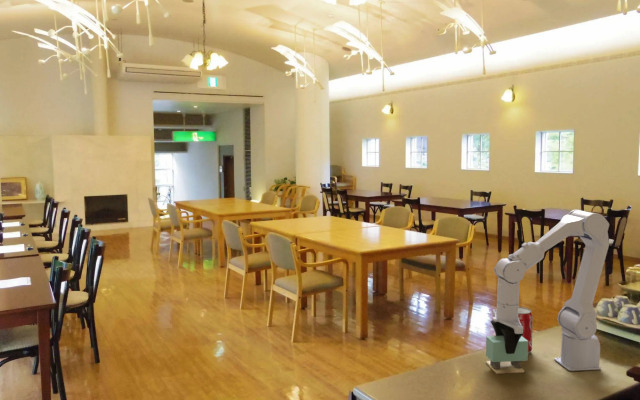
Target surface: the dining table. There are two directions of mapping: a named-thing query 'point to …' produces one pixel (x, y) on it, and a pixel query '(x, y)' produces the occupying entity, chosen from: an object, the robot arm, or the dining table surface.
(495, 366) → the stand
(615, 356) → the dining table surface
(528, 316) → the soda can
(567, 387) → the dining table surface
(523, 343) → the block
